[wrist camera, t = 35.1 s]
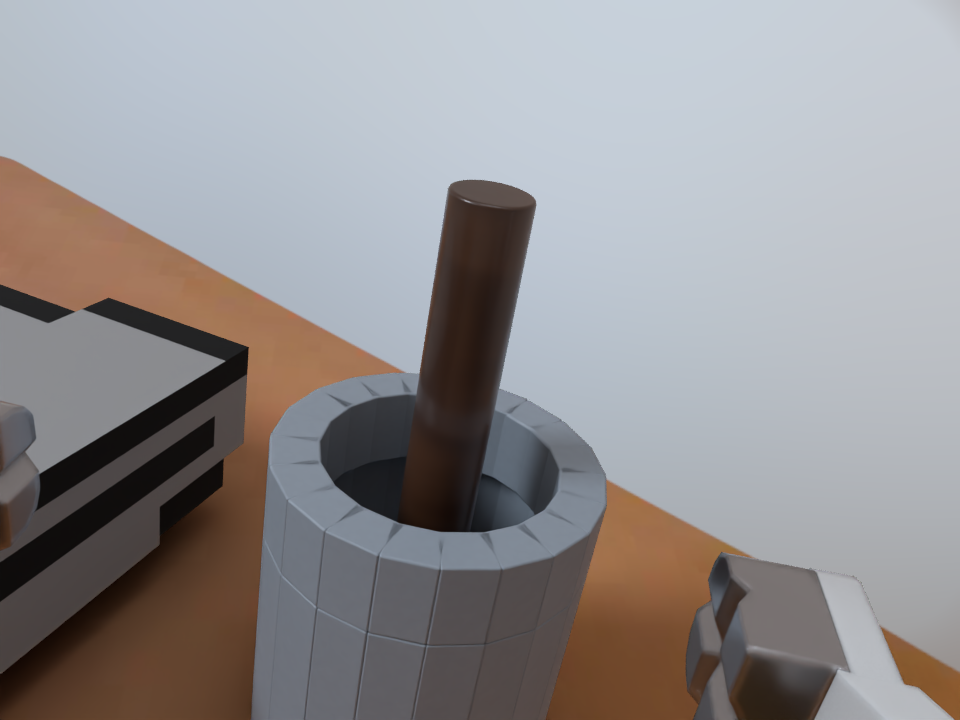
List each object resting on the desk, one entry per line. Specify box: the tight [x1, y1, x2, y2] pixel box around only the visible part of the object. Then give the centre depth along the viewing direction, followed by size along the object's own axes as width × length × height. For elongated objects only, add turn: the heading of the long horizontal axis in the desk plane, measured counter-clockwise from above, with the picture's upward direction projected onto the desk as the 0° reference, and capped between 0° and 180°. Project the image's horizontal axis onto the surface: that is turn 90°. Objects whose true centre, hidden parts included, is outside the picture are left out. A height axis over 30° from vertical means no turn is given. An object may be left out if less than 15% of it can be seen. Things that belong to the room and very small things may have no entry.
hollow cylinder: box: [251, 373, 607, 720], centre depth 27 cm, size 10×10×11 cm
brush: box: [397, 180, 536, 532], centre depth 25 cm, size 3×3×18 cm
